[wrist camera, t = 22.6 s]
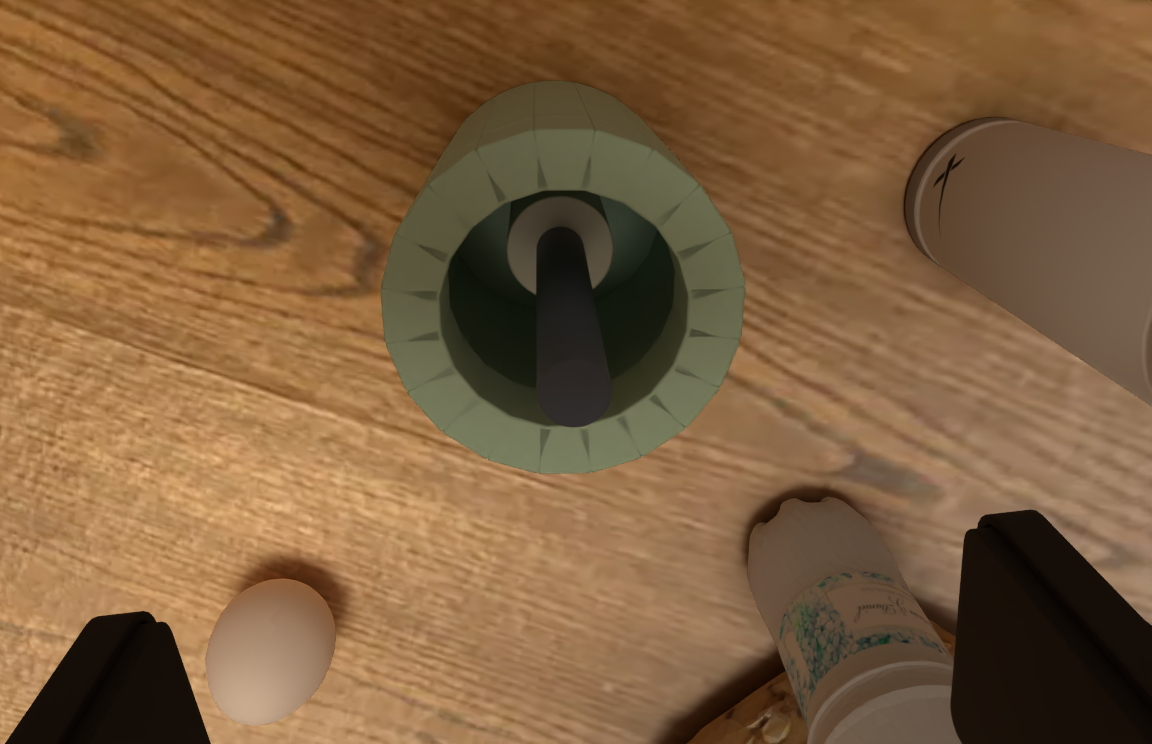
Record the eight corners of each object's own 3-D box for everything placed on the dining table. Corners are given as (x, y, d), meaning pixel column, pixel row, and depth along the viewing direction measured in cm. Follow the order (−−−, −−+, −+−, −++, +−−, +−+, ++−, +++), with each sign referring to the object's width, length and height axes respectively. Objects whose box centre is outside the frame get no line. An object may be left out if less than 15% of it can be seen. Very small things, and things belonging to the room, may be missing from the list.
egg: (222, 623, 44) (164, 739, 37) (253, 536, 42) (198, 641, 35) (328, 656, 45) (291, 775, 38) (363, 572, 43) (330, 681, 36)
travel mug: (872, 167, 36) (1218, 341, 18) (1030, 87, 36) (1565, 184, 17) (924, 298, 39) (1278, 572, 20) (1073, 226, 38) (1587, 445, 19)
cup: (387, 177, 36) (304, 278, 23) (581, 28, 34) (609, 46, 21) (530, 354, 39) (528, 532, 26) (714, 227, 37) (810, 349, 24)
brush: (492, 201, 36) (454, 379, 19) (566, 145, 35) (594, 279, 18) (546, 272, 37) (556, 498, 20) (619, 220, 36) (691, 410, 19)
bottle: (899, 504, 43) (1179, 892, 24) (832, 614, 45) (1042, 1047, 26) (771, 460, 41) (963, 832, 23) (710, 576, 44) (839, 1000, 25)
